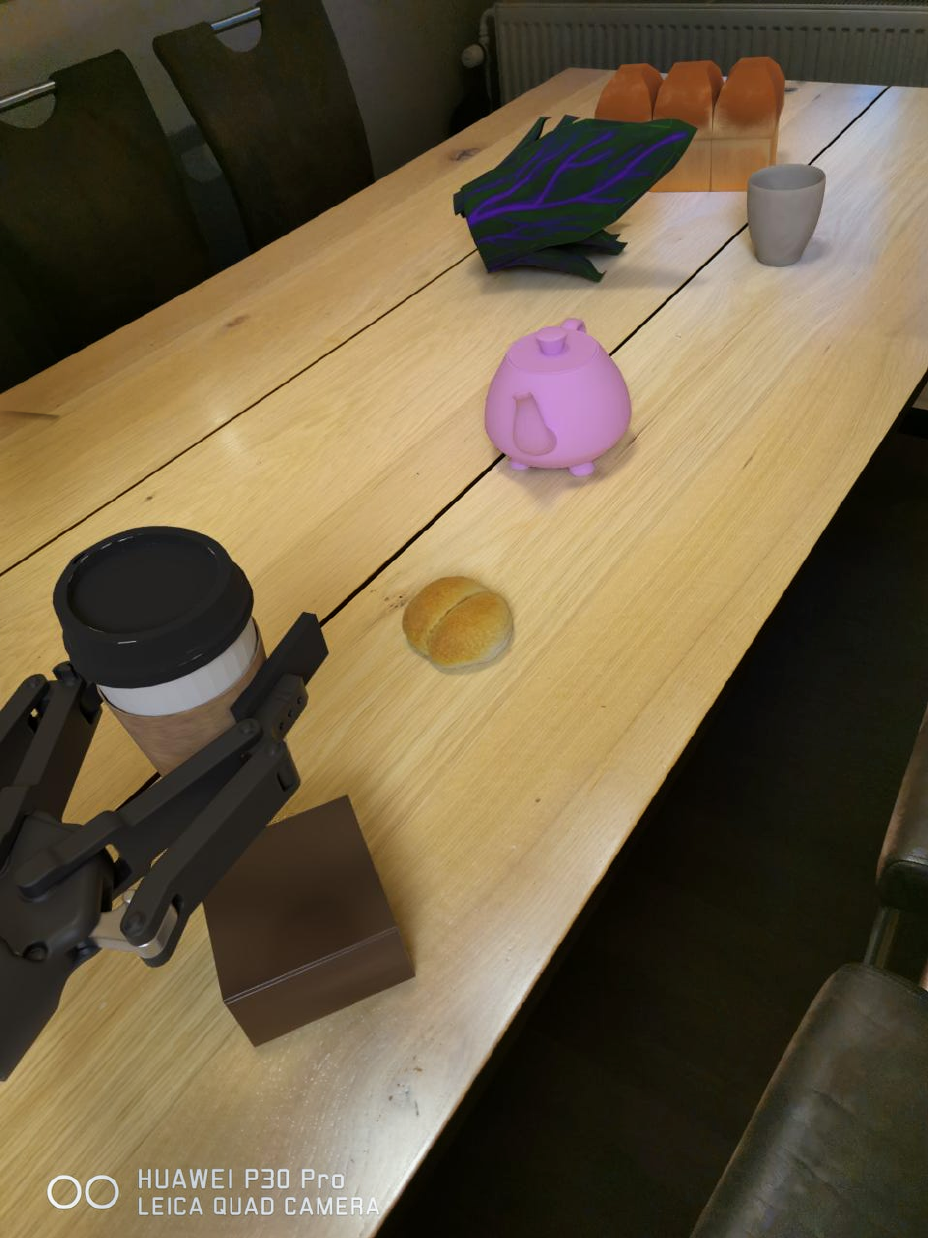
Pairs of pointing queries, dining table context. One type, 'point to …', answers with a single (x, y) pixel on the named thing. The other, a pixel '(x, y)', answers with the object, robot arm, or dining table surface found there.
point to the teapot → (557, 400)
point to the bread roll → (458, 622)
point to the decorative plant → (568, 191)
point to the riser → (303, 924)
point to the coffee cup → (162, 635)
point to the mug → (784, 210)
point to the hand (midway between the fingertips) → (246, 617)
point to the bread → (705, 117)
